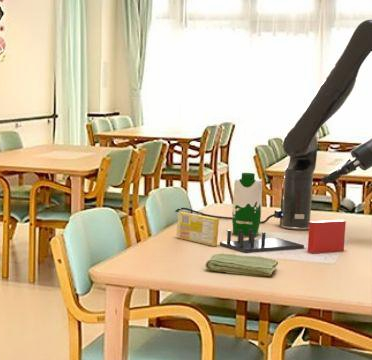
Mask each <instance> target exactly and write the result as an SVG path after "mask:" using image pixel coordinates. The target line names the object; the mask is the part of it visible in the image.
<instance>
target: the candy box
mask: <svg viewBox="0 0 372 360" xmlns="http://www.w3.org/2000/svg"><path fill="white" fill-rule="evenodd" d="M219 219H220V218H214V217H208V216H204V215H202V214H196V213H190V212H184V211H177V223H176V225H177V226H176V238H177V239H180V240H181V239H182V240H185V241H190V242H195V243H198V244H202V245H206V246H207V245H208V246H211V247H216V246H218V237H219V223H220V220H219Z"/></svg>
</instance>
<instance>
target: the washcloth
mask: <svg viewBox="0 0 372 360" xmlns="http://www.w3.org/2000/svg"><path fill="white" fill-rule="evenodd" d="M278 264H279V260H276V259H273V258H267V257H262V256H252V255H251V256H250V255H237V254H231V253H216V254H213V255H211V257H210V258H209V259H208V260H207V261H206V262H205V265H204V266H205V268H206V269H207V270H208V271H211V272H218V273H226V274H237V275H244V276H255V277H256V276H257V277H271V275H273V274H272V273H273V272H274V271H275V270H276V269H277V266H278Z"/></svg>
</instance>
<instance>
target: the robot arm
mask: <svg viewBox="0 0 372 360" xmlns="http://www.w3.org/2000/svg"><path fill="white" fill-rule="evenodd" d="M371 53H372V19H366V20H364V21H362V22H360V23H359V24H358V25H357V27H356V28H355V29H354V31H353V33H352V34H351V37H350V39H349V41H348V43H347V45H346V46H345V48H344V50H343V52H342V54H341V55H340V56H339V58H338V60H337V61H336V63H335V64H334V66H333V67H332V69H330V71H329V73H328V74H327V76H326V77H325V79H324V80H323V82H322V83H321V85H320V86H319V88H318V89H317V91H316V93H315V94H314V96H313V97H312V99H311V100H310V102H309V104H308V105H307V107H306V109H305V111H304V112H303V114H302V115H301V116H300V117H299V119H298V121H297V122H296V123H295V124H294V125H293V127H292V128H290V130H289V131H288V132H287V134H286V135H285V137H284V138H283V142H282V149H283V152H284V153H285V155H286V156H288V157H289V162H288V165H287V166H286V168H285V169H284V180H283V197H282V198H281V199H280V210H278V209H277V210H274V212H273V214H270V215H269V216H267V217H266V218H265V219H264V220H260V224H265V223H267V222H268V221H269V220H270V219H272V218H274V219H279V227H281V228H283V229H288V230H294V231H295V230H296V231H307V230H309V222H311V216H312V215H311V214H312V213H311V212H312V197H313V195H312V194H313V179H314V173H315V170H316V167H317V157H318V139H317V137H316V135H317V134H318V132H319V130H320V129H321V127H322V126H323V125H324V124H325V123H326V122H328V121H329V120H330V119H331V118H332V117H333V116H334V115H335V114H336V113H337V112H338V111H339V110H340V109H341V108H342V106H343V105H344V104H345V102H346V101H347V100H348V99H349V96H350V95H351V93H352V92H353V90H354V88H355V85H356V82H357V79H358V75H359V72H360V70H361V67H362V65H363V63H364V62H365V61H366V59H367V57H368V56H369V55H370V54H371ZM350 156H351V157H352V159H350V158H348V159H345V160H344V161H343V162H342V163H341V164H339V165H337V166H336V167H335V169H332V170H331V171H330V172H329V173H328V174H326V175H324V176H323V177H322V178H321V179H320V181H321V182H322V184H323V185H327V184H328V183H333V182H335V181H336V180H338V179H339V178H341V177H344V176H348V175H349V174H352V173H354V172H355V171H356V170H358V169H357V168H359V169H360V170H362V171H367V170H369V169H371V168H372V137H371V138H369V139H367V140H365V141H364V142H362V143H360V144H359V145H357V146H355V147H354V148H352V149H351V151H350ZM180 208H181V209H179V208H177V209H176V210H175V212H177V213H178V212H180V211H181V210H182V211H183V210H185V211H189V212H192V213H193V214H198V215H201V216H206V217H211V218H216V219H223V220H232V216H221V215H213V214H208V213H204V212H202V211H199V210H194V209H191V208H188V207H180Z"/></svg>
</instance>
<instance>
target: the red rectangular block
mask: <svg viewBox="0 0 372 360" xmlns="http://www.w3.org/2000/svg"><path fill="white" fill-rule="evenodd" d="M346 223H347V221H346V220H344V219H333V220H331V219H330V220H317V221H310V222H309V229H308V240H307V253H309V254H322V253H323V254H324V253H333V252H336V253H337V252H344V251H345V238H346V226H347V225H346Z"/></svg>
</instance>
